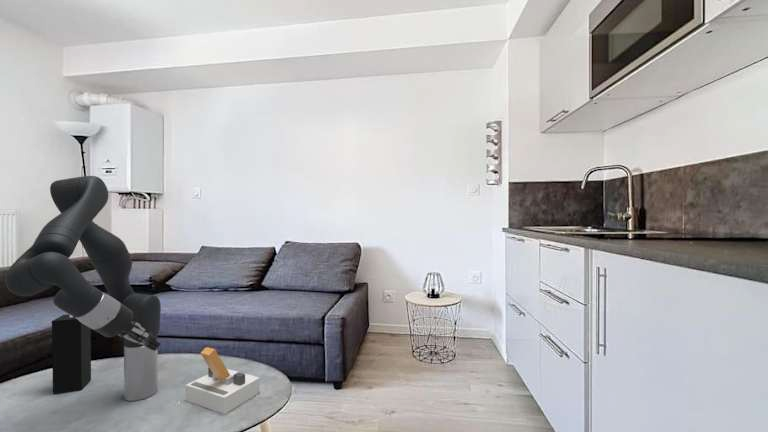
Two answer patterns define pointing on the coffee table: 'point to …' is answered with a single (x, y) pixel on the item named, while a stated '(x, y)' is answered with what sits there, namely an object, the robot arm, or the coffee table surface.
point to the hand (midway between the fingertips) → (156, 347)
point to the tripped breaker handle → (215, 363)
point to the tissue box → (70, 354)
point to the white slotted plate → (222, 391)
